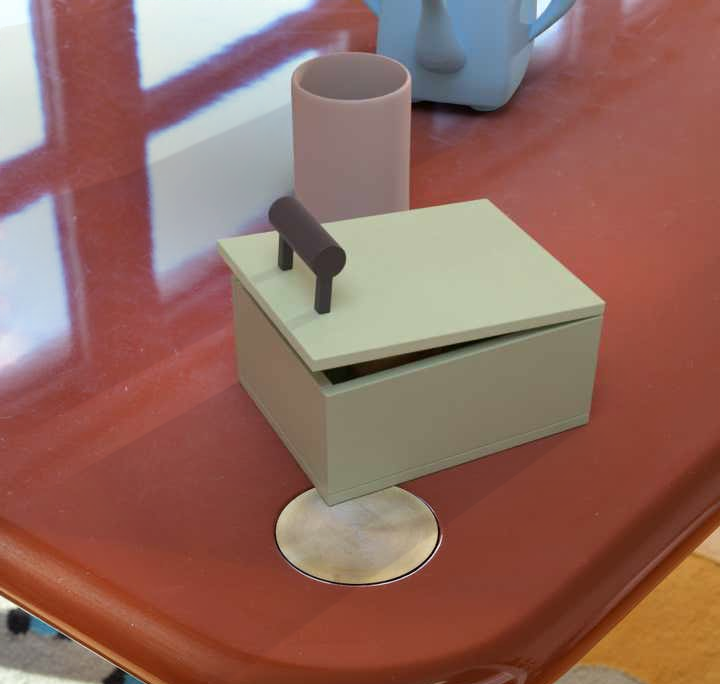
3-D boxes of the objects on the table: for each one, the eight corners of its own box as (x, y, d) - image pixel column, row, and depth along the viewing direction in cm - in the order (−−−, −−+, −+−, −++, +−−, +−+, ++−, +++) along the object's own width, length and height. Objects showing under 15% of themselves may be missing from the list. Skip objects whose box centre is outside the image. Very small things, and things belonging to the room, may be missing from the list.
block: (375, 422, 82) (375, 361, 79) (346, 382, 85) (345, 323, 82) (440, 404, 83) (443, 344, 80) (410, 366, 86) (411, 307, 83)
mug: (425, 235, 100) (430, 92, 92) (314, 255, 98) (310, 109, 90) (372, 163, 108) (373, 26, 101) (269, 179, 106) (262, 41, 99)
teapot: (332, 64, 122) (329, -94, 113) (494, 34, 127) (504, -120, 118) (419, 150, 110) (423, -19, 101) (594, 113, 115) (614, -51, 106)
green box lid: (312, 372, 71) (318, 288, 68) (216, 251, 80) (217, 172, 77) (603, 314, 78) (621, 235, 75) (485, 209, 87) (496, 134, 84)
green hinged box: (328, 506, 78) (326, 396, 72) (238, 380, 87) (229, 274, 81) (589, 423, 83) (604, 315, 78) (478, 313, 92) (485, 209, 87)
